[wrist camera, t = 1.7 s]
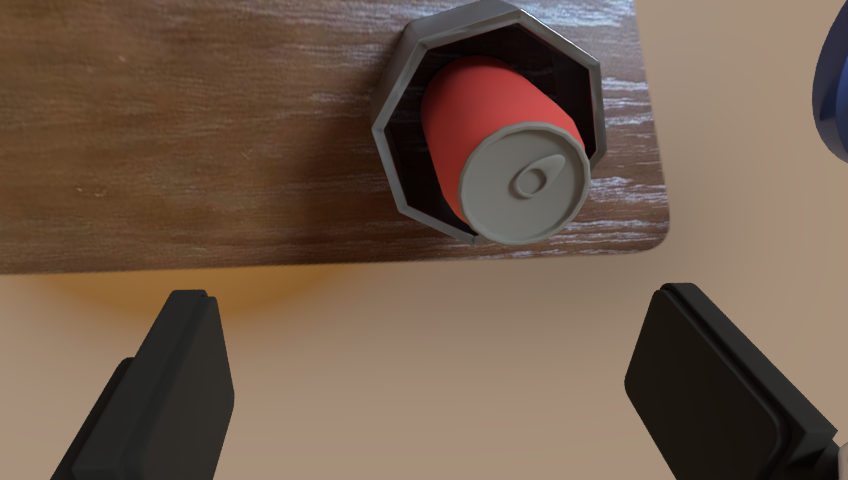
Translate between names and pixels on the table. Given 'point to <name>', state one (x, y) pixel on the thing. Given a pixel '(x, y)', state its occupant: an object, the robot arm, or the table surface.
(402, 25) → the table surface
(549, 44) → the black octagonal pot
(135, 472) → the robot arm
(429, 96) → the beer can
